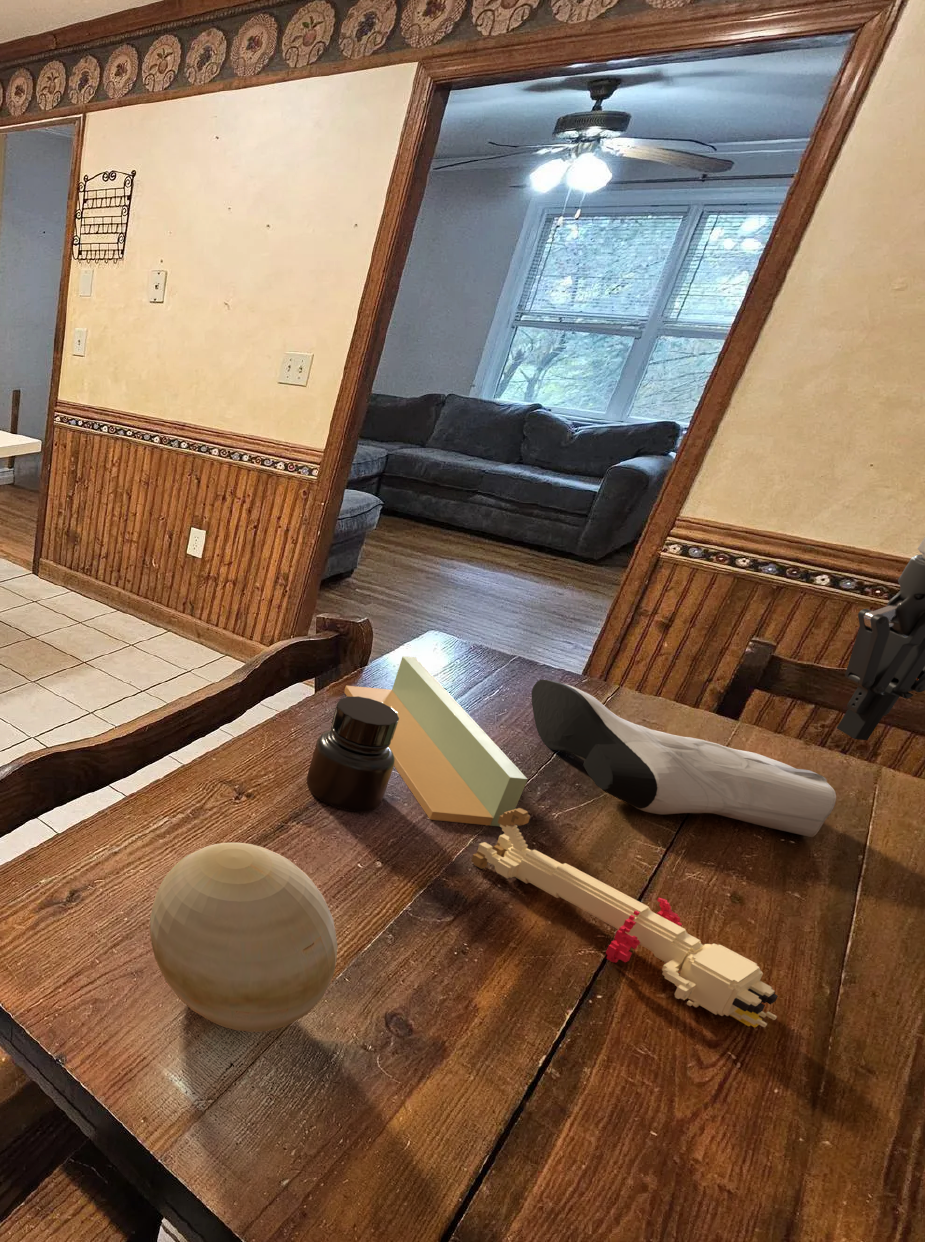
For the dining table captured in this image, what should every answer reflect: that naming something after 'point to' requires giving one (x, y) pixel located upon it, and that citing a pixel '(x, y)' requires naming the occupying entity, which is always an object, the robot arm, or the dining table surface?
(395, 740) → the wall shelf
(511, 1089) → the dining table surface
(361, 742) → the ink bottle
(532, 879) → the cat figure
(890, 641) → the robot arm
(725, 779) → the grey boot
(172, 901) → the decorative ball
